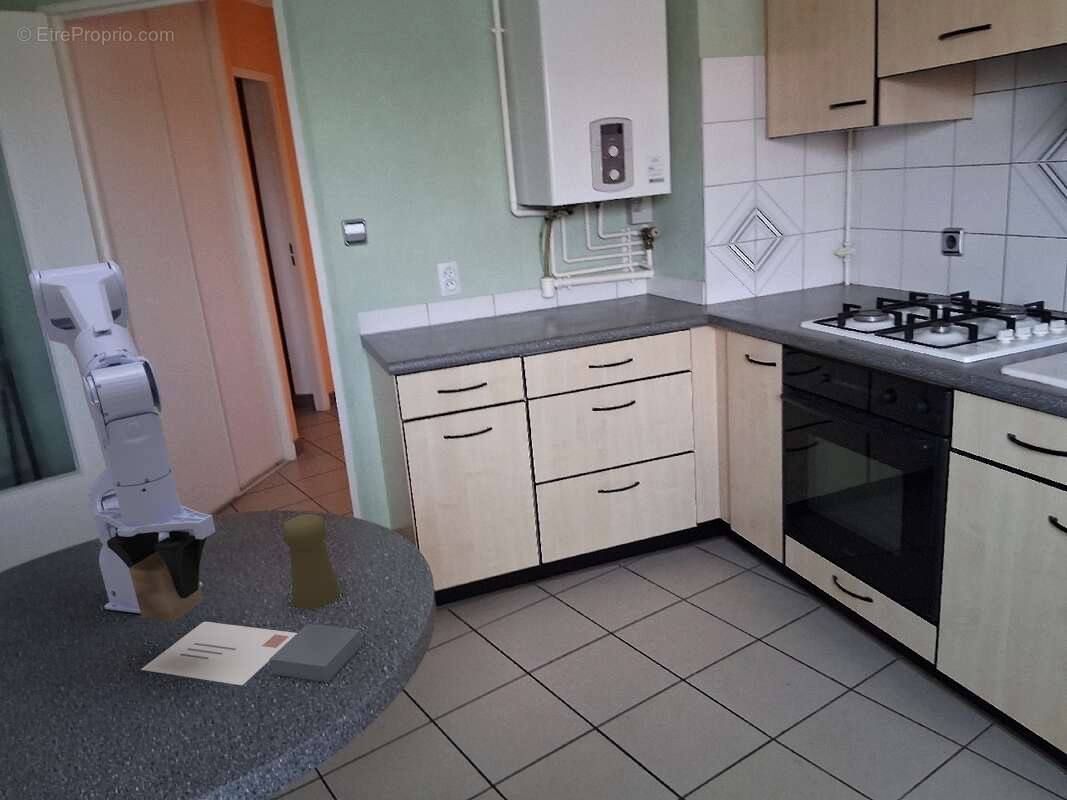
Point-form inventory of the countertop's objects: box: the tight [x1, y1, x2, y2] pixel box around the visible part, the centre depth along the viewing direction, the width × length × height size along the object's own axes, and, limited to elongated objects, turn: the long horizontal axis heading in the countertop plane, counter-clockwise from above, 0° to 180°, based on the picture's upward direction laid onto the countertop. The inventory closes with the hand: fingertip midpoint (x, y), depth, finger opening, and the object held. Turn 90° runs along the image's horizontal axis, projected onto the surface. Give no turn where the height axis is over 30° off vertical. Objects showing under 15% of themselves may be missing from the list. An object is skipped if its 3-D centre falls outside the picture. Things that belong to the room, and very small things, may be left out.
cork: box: [282, 513, 341, 610], centre depth 100 cm, size 6×6×11 cm
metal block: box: [269, 623, 364, 683], centre depth 87 cm, size 7×7×2 cm
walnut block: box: [129, 552, 205, 623], centre depth 87 cm, size 4×4×6 cm
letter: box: [140, 621, 298, 686], centre depth 91 cm, size 14×10×1 cm
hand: (171, 591), depth 87 cm, fingers closed on walnut block, 4 cm apart
